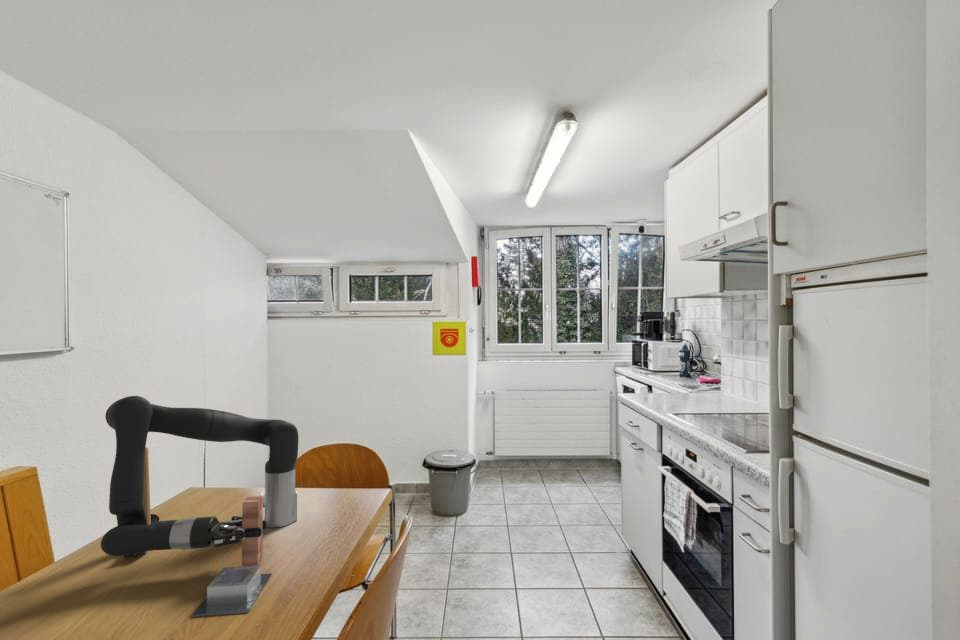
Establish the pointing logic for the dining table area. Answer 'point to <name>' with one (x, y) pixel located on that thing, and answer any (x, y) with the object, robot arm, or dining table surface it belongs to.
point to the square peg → (252, 519)
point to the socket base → (231, 607)
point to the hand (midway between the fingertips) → (263, 528)
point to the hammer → (146, 497)
